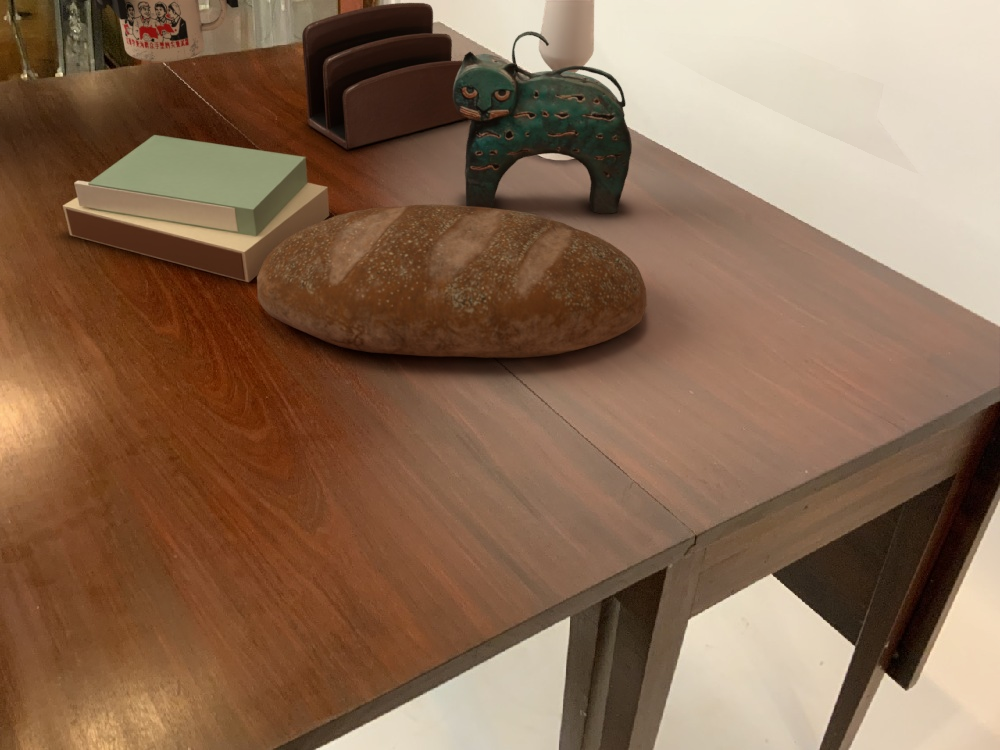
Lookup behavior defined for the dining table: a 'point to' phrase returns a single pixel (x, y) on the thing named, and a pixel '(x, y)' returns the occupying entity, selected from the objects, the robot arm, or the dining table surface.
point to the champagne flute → (567, 39)
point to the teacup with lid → (165, 29)
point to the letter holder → (378, 74)
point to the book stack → (198, 204)
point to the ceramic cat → (540, 124)
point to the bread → (452, 283)
